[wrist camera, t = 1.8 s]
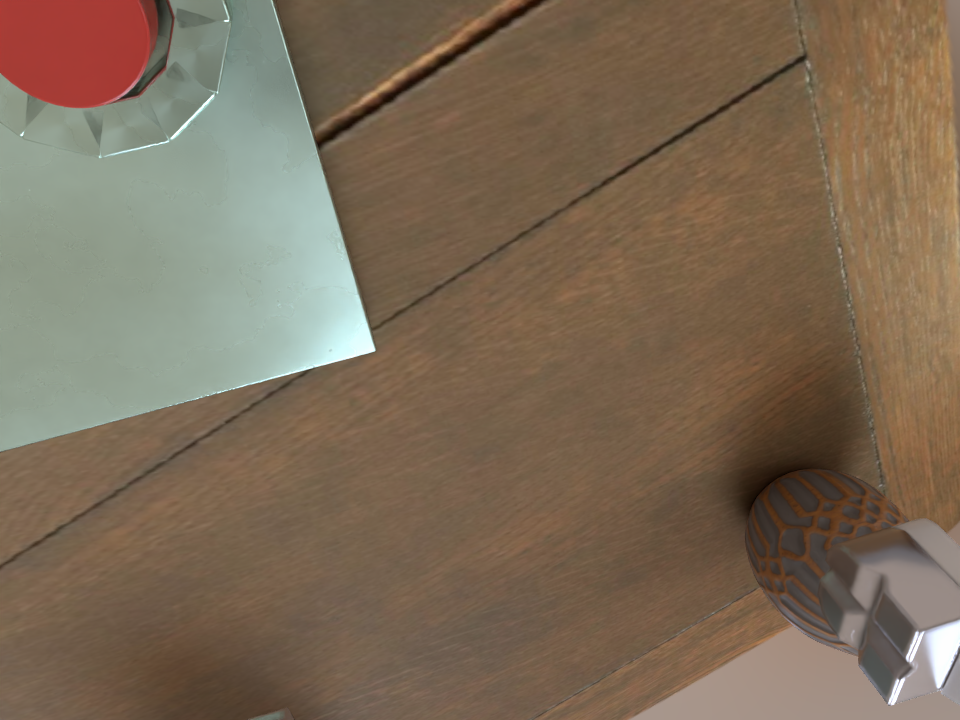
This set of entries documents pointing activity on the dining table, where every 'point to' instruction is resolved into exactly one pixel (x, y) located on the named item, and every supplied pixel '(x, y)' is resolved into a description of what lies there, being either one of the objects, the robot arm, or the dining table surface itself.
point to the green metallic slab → (169, 233)
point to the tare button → (76, 48)
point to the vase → (809, 539)
